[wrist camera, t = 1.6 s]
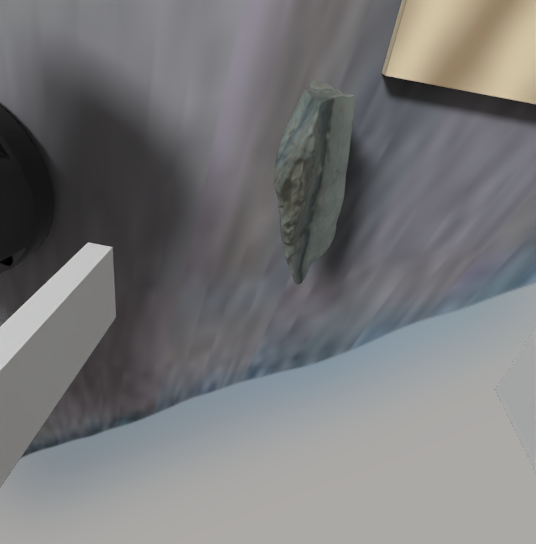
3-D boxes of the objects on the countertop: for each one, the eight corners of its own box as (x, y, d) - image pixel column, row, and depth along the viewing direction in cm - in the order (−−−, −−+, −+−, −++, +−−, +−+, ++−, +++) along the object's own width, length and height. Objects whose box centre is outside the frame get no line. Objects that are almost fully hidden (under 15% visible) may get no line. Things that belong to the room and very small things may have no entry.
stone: (328, 233, 31) (333, 313, 22) (275, 227, 31) (260, 304, 22) (356, 78, 25) (377, 106, 17) (292, 71, 25) (280, 95, 17)
